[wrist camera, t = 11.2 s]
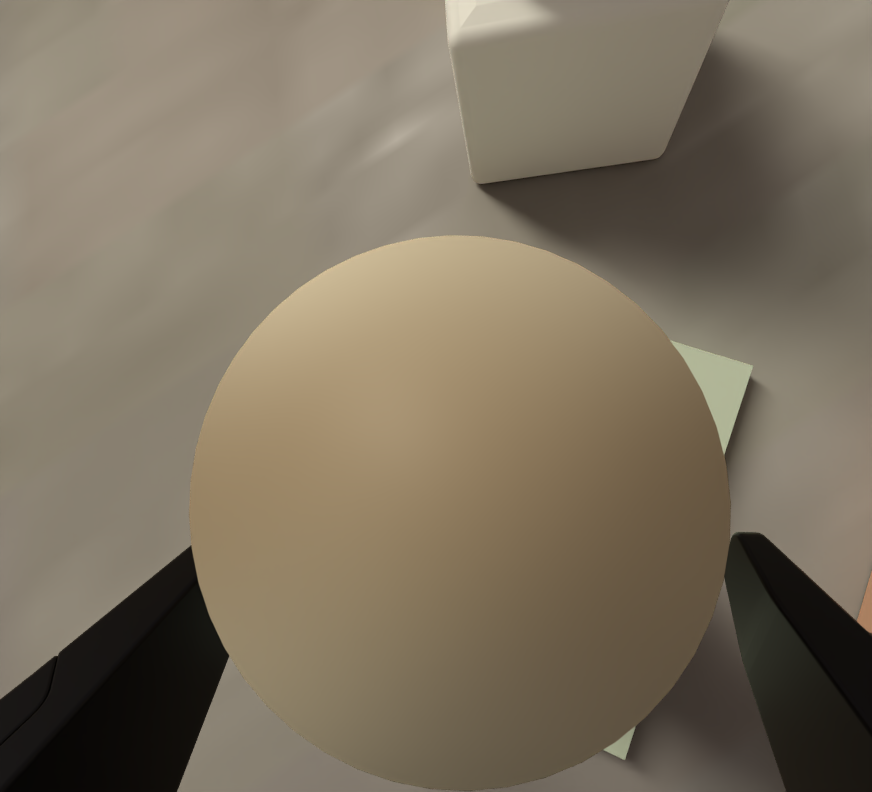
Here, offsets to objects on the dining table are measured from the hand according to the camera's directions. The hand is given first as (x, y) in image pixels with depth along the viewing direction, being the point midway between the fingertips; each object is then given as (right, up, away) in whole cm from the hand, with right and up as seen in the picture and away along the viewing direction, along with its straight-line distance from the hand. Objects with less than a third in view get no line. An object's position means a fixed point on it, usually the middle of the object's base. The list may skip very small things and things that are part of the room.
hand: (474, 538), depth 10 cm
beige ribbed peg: (+1, 0, +8) cm, 8 cm away
